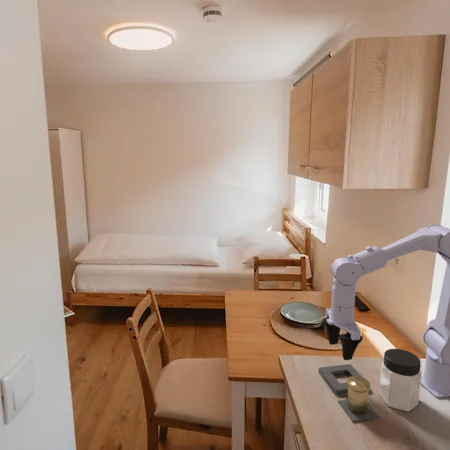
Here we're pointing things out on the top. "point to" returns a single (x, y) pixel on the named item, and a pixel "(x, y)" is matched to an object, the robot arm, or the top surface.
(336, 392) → the housing
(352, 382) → the gold rounded piece
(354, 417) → the mat
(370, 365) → the top surface
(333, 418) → the top surface
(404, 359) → the jar
